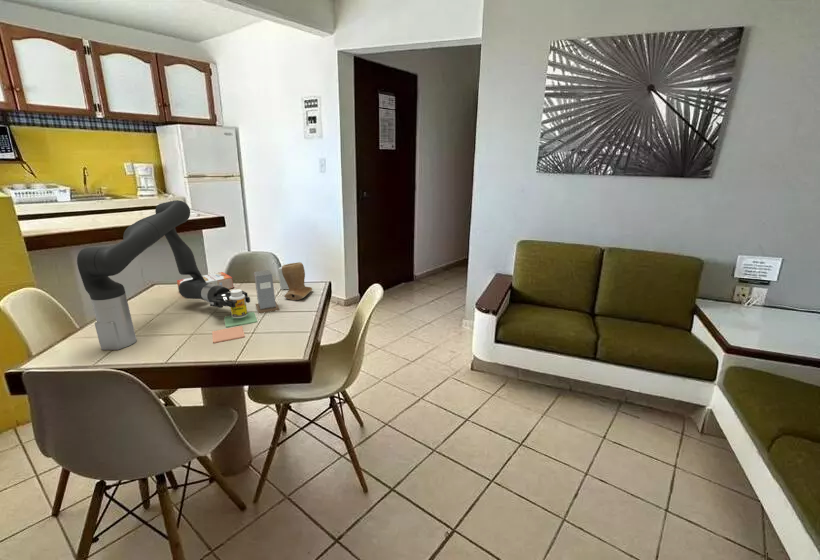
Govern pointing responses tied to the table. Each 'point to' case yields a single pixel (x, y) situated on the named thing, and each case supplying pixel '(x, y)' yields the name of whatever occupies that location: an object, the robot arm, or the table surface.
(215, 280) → the cracker box
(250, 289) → the table surface
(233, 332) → the terracotta pad
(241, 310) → the supplement bottle
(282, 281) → the small box
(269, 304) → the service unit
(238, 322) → the green pad
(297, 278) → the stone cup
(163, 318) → the table surface
